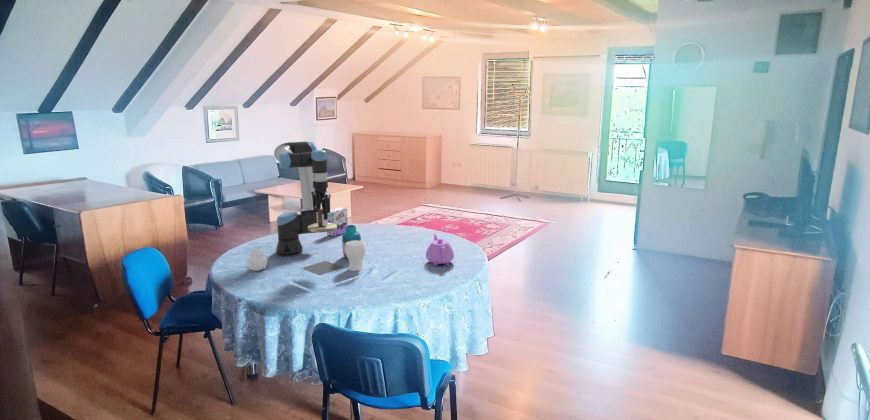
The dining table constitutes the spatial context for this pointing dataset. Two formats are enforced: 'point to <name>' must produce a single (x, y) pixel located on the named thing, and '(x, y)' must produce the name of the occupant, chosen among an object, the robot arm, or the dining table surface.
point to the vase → (350, 237)
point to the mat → (322, 267)
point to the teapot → (439, 252)
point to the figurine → (257, 260)
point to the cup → (355, 254)
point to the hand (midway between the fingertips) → (322, 224)
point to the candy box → (338, 221)
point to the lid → (319, 226)
